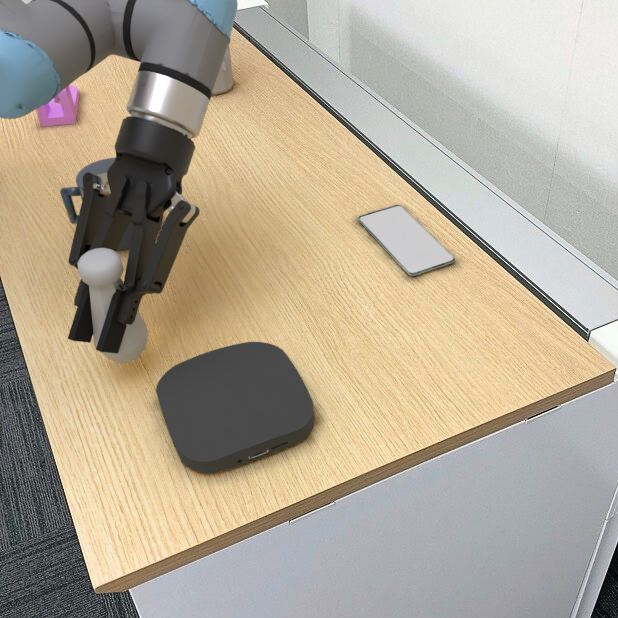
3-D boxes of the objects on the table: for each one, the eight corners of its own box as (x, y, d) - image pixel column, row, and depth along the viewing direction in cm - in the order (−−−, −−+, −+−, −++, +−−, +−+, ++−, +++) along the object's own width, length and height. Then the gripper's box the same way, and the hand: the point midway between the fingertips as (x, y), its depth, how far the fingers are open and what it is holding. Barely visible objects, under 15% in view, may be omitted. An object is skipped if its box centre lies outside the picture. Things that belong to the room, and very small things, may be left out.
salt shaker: (127, 376, 79) (98, 282, 70) (87, 358, 81) (53, 264, 72) (163, 343, 82) (139, 249, 73) (123, 326, 84) (96, 233, 75)
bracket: (75, 123, 126) (63, 84, 121) (41, 126, 125) (28, 87, 121) (80, 90, 135) (70, 53, 130) (49, 93, 135) (37, 55, 130)
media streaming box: (152, 388, 81) (146, 369, 79) (276, 348, 85) (273, 329, 83) (189, 487, 71) (183, 468, 69) (326, 436, 76) (325, 417, 74)
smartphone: (399, 203, 106) (456, 259, 96) (399, 207, 106) (456, 262, 96) (356, 216, 103) (410, 275, 94) (356, 219, 104) (410, 278, 94)
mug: (162, 212, 106) (150, 155, 100) (154, 249, 100) (140, 191, 93) (80, 215, 106) (62, 159, 99) (67, 253, 99) (47, 195, 93)
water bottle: (185, 88, 136) (159, -63, 118) (220, 75, 139) (200, -72, 122) (214, 104, 131) (191, -50, 113) (249, 91, 134) (233, -61, 117)
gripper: (244, 157, 76) (176, 372, 77) (121, 124, 81) (58, 326, 82) (208, 132, 69) (133, 369, 70) (75, 98, 74) (7, 319, 75)
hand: (93, 345), depth 76 cm, fingers closed on salt shaker, 3 cm apart
